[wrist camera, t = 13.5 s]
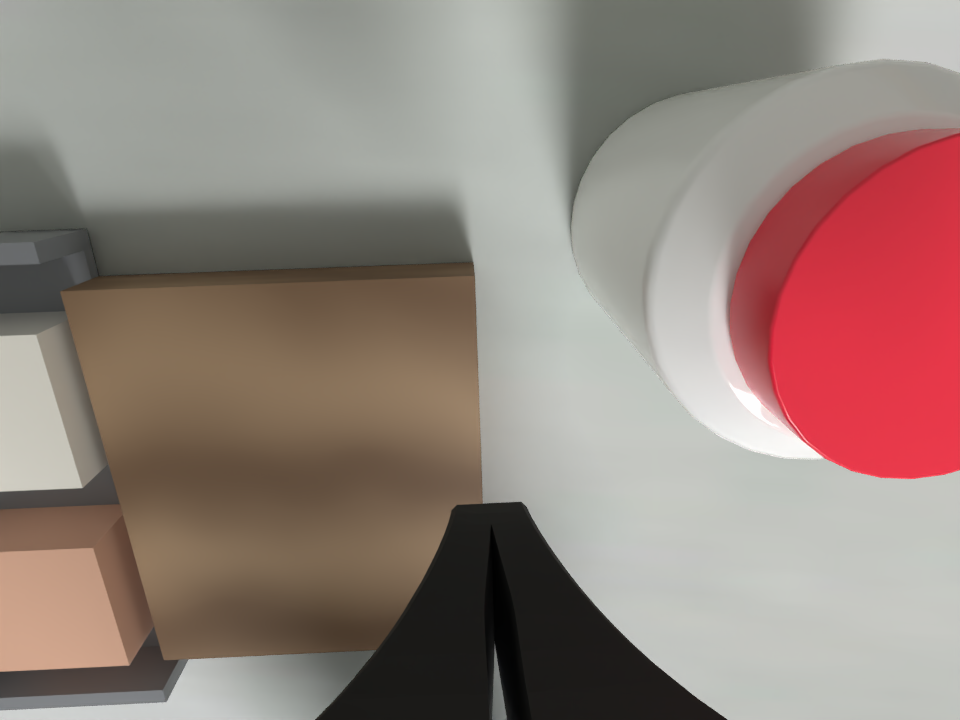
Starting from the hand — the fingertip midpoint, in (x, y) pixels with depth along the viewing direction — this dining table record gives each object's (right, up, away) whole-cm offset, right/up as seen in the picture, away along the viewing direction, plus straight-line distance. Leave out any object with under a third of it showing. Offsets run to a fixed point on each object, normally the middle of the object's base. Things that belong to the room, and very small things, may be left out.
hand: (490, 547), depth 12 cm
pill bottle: (+7, +8, +8) cm, 13 cm away
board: (-6, 0, +10) cm, 12 cm away
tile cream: (-15, +3, +9) cm, 18 cm away
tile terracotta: (-15, -4, +11) cm, 19 cm away
